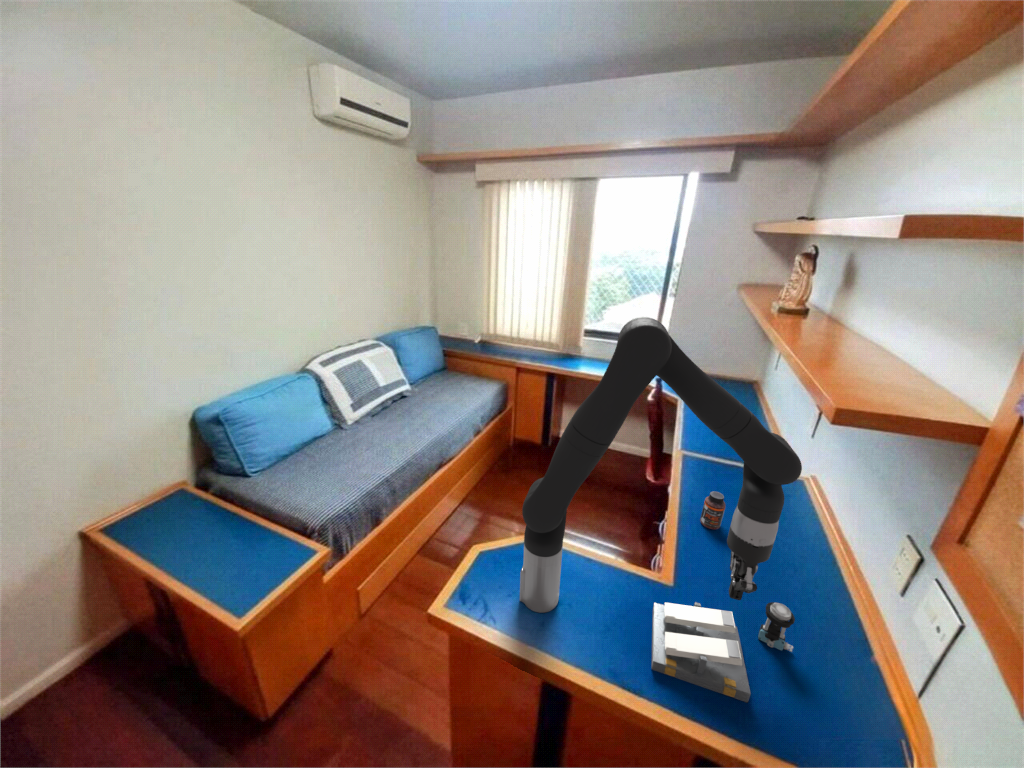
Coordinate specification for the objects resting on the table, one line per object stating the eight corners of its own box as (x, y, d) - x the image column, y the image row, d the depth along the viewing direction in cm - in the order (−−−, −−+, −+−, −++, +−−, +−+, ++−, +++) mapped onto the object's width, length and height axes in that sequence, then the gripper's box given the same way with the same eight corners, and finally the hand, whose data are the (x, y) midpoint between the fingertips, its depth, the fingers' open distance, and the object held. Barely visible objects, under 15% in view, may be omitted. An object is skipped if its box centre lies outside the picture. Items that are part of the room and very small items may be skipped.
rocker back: (665, 622, 87) (664, 616, 87) (665, 607, 91) (664, 601, 90) (735, 633, 82) (735, 626, 82) (732, 617, 86) (732, 611, 85)
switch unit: (651, 670, 81) (656, 647, 79) (652, 610, 94) (656, 589, 92) (747, 703, 75) (756, 680, 73) (734, 634, 89) (741, 613, 86)
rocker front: (666, 654, 81) (665, 647, 80) (665, 637, 84) (664, 631, 84) (742, 665, 75) (741, 658, 75) (738, 647, 79) (737, 640, 78)
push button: (792, 643, 87) (804, 611, 84) (790, 662, 83) (803, 629, 80) (758, 626, 91) (768, 594, 87) (755, 643, 87) (765, 611, 83)
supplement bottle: (701, 528, 122) (708, 498, 119) (698, 516, 128) (704, 487, 124) (721, 532, 121) (729, 502, 117) (718, 520, 126) (725, 491, 122)
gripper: (726, 506, 83) (711, 568, 89) (736, 548, 71) (718, 617, 77) (766, 514, 80) (748, 577, 86) (784, 559, 69) (761, 629, 74)
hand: (734, 596), depth 81 cm, fingers closed
